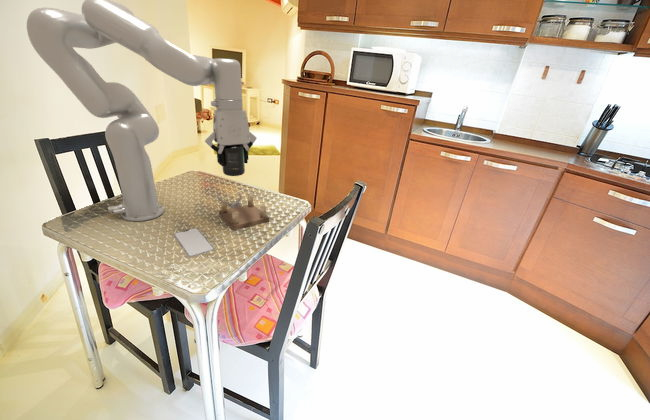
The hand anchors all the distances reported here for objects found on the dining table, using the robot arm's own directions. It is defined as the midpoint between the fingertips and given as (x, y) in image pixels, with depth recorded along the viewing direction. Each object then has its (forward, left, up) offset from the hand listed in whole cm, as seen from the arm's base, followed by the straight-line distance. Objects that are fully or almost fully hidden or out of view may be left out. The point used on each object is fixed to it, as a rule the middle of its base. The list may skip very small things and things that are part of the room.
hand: (233, 163), depth 94 cm
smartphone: (-17, -8, -21) cm, 28 cm away
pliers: (+6, +14, -21) cm, 26 cm away
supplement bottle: (0, 0, -3) cm, 3 cm away
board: (+3, 0, -20) cm, 20 cm away
